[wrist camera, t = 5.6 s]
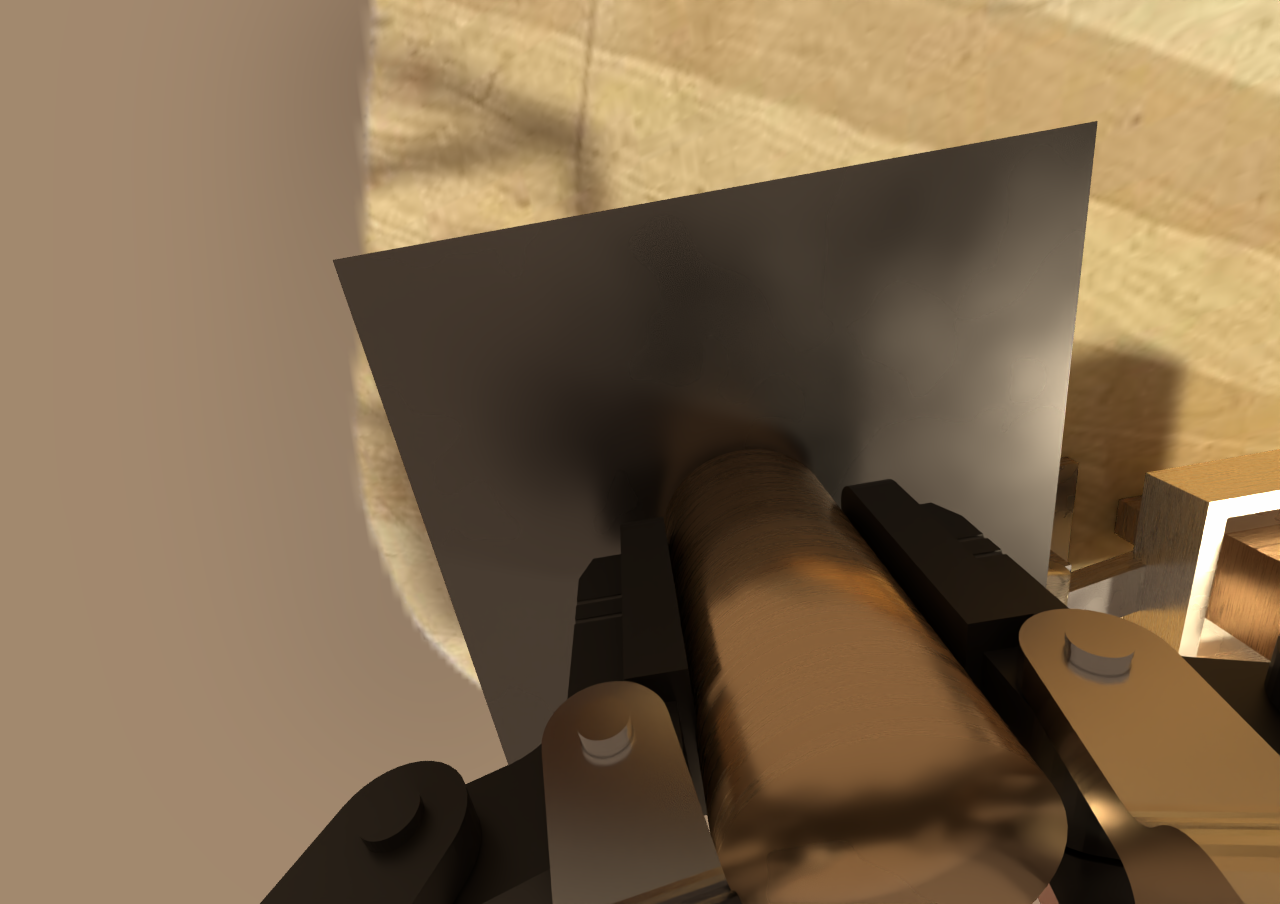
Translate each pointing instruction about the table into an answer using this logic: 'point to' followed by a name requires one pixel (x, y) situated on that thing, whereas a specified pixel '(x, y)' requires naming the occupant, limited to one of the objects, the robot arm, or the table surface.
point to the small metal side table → (762, 482)
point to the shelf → (1187, 557)
